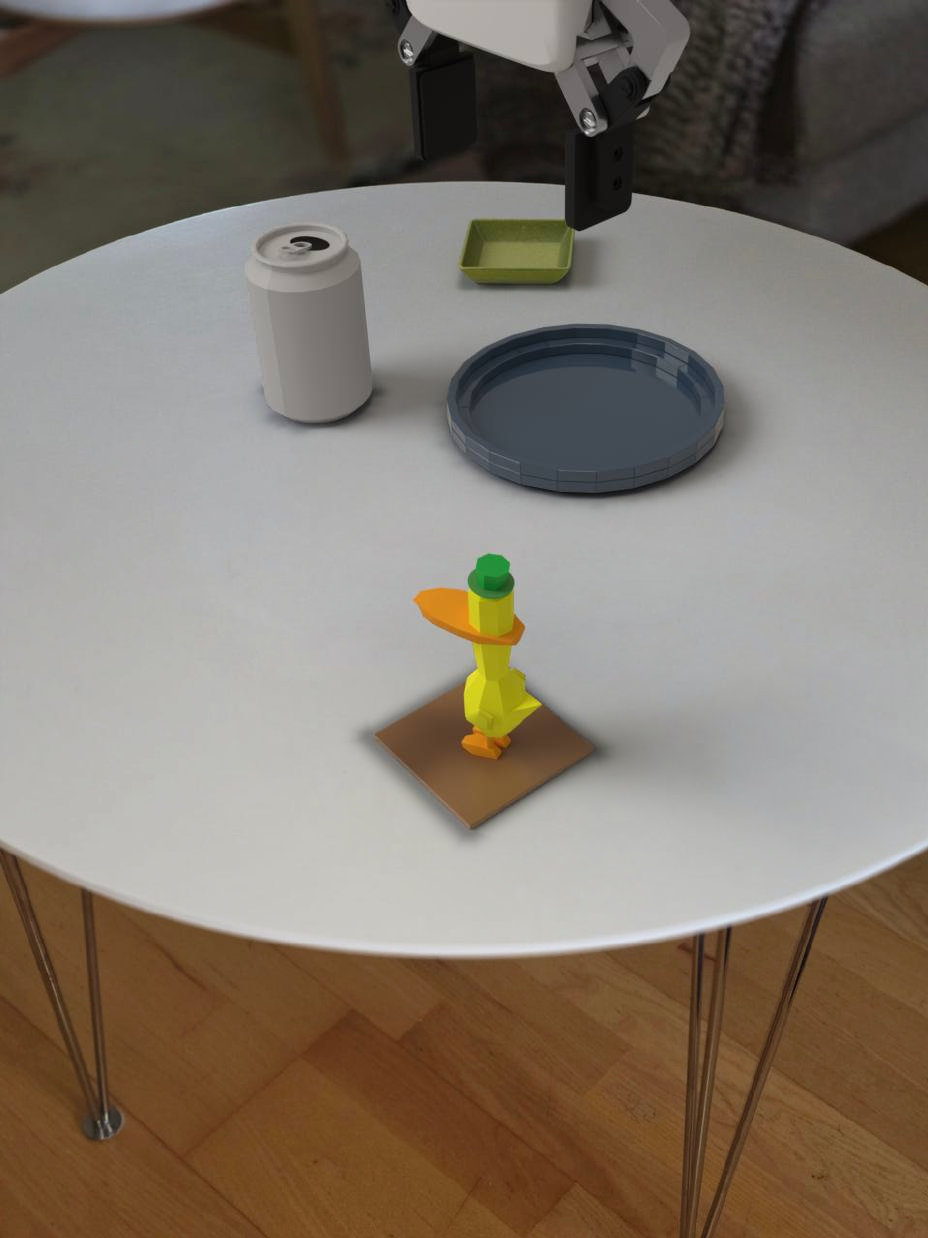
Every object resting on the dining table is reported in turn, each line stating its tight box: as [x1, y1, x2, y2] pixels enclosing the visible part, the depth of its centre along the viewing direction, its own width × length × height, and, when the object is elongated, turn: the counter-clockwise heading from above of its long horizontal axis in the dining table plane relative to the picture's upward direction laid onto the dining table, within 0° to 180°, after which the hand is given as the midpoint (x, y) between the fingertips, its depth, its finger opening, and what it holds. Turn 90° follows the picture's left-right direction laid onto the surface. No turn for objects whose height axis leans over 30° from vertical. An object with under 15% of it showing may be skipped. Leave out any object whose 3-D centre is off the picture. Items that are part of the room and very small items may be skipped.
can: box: [244, 221, 374, 424], centre depth 91 cm, size 8×8×12 cm
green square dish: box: [457, 217, 576, 285], centre depth 108 cm, size 9×9×2 cm
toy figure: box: [412, 553, 543, 759], centre depth 65 cm, size 7×4×12 cm, turn 59°
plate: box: [445, 323, 726, 494], centre depth 91 cm, size 18×18×2 cm
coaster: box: [373, 680, 595, 831], centre depth 69 cm, size 8×8×1 cm
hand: (518, 183), depth 58 cm, fingers open, 9 cm apart
